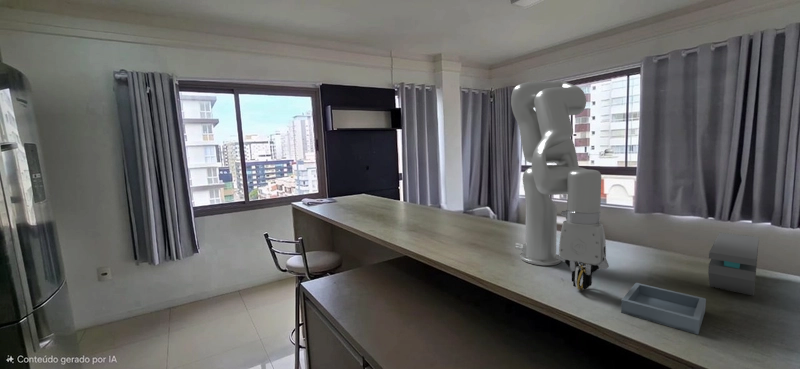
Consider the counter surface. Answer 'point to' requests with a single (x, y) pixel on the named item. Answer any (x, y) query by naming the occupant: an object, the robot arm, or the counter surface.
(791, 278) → the counter surface
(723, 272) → the gray slotted box
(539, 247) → the robot arm
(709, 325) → the counter surface
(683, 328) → the tray
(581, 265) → the bracelet
